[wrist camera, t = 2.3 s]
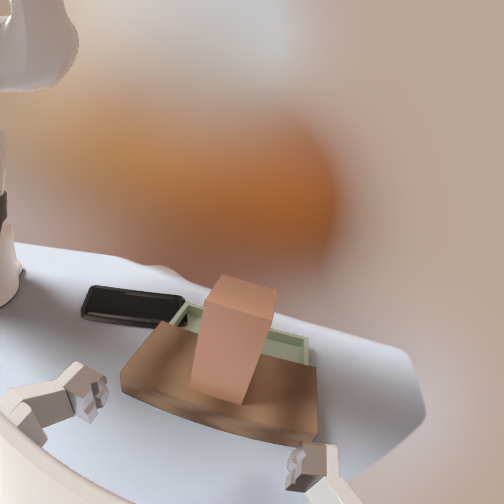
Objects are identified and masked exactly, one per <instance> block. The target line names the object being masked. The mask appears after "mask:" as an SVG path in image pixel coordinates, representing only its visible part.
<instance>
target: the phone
mask: <svg viewBox="0 0 504 504" xmlns="http://www.w3.org/2000/svg"><path fill="white" fill-rule="evenodd" d="M184 303H185V299H184V298H183V297H182V296H179V295H170V294H161V293H152V292H144V291H136V290H128V289H120V288H113V287H106V286H99V285H94V286H91V287H90V288H89V291H88V293H87V295H86V298H85V300H84V303H83V305H82V308H81V316H82V317H83V318H84V319H87V320H93V321H100V322H107V323H114V324H122V325H130V326H138V327H148V328H156V327H157V326H158V325H159V323H160V322H161V321H164V322H167V323H170V321H171V320H172V319H173V317H174V316H175V315H176V313H177V312H178V311H179V310H180V308H181V307H182V306H183V304H184ZM187 324H188V320H187V313H186V314H185V317H184V318H183V319H182V321H181V322H180V324H179V325H178V326H177V327H185V326H186V325H187Z"/></svg>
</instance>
